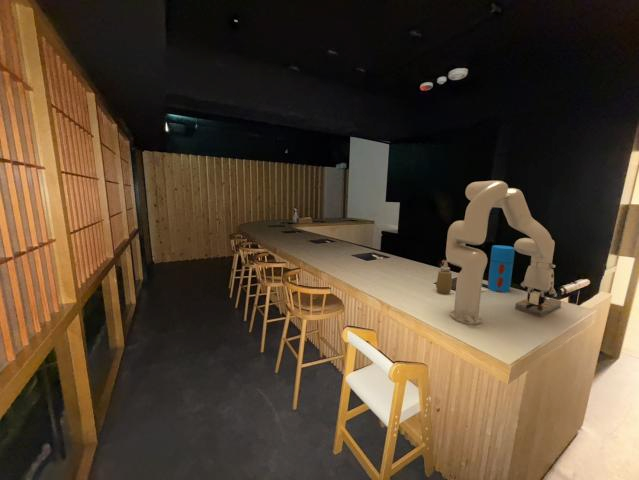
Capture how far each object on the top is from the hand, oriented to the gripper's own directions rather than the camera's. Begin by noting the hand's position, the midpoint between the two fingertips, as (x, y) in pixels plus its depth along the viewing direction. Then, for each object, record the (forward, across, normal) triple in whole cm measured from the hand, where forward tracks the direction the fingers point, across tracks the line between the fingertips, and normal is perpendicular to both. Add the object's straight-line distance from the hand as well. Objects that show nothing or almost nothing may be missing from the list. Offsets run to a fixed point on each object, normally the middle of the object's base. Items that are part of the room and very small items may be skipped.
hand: (535, 302), depth 127 cm
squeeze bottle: (+4, +36, +17) cm, 40 cm away
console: (+4, 0, -4) cm, 5 cm away
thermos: (+4, +23, -15) cm, 28 cm away
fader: (+1, 0, 0) cm, 1 cm away
